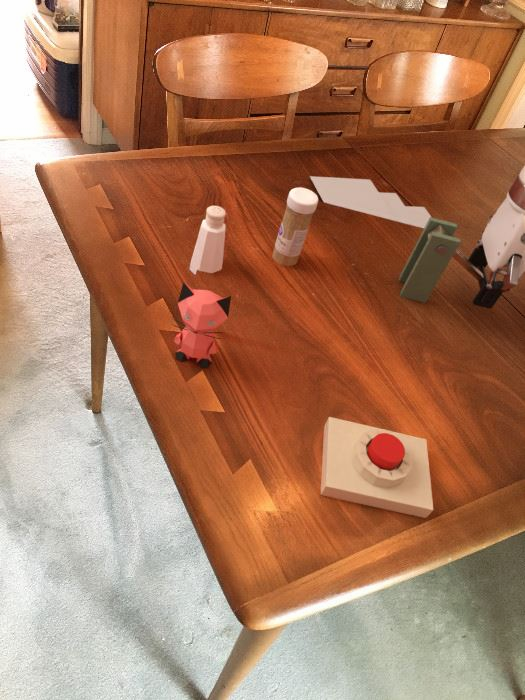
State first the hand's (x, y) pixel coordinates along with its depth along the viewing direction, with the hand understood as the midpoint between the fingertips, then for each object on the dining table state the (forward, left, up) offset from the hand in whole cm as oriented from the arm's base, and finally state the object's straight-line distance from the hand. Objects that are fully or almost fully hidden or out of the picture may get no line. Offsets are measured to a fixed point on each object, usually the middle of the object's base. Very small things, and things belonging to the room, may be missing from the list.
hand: (477, 286), depth 91 cm
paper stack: (+14, -22, -5) cm, 26 cm away
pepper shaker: (+44, +6, -5) cm, 44 cm away
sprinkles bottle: (+32, 0, -5) cm, 32 cm away
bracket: (+10, 0, -5) cm, 11 cm away
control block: (+17, +36, -5) cm, 40 cm away
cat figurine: (+42, +24, -5) cm, 48 cm away
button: (+17, +36, -2) cm, 40 cm away
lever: (+6, 0, +3) cm, 7 cm away
